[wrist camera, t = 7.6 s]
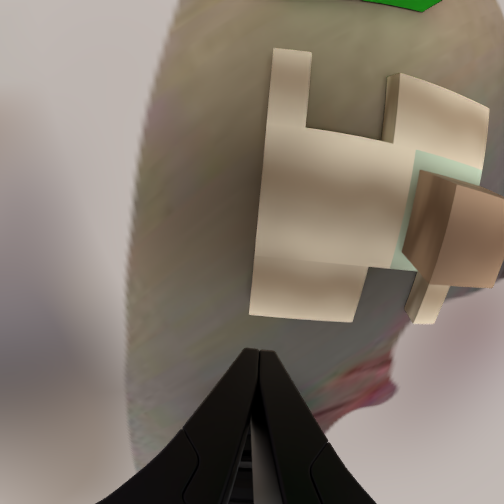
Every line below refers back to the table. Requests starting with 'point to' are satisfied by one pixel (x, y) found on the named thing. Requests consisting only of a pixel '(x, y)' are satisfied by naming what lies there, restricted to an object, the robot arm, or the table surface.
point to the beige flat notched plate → (351, 193)
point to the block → (455, 232)
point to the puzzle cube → (409, 3)
